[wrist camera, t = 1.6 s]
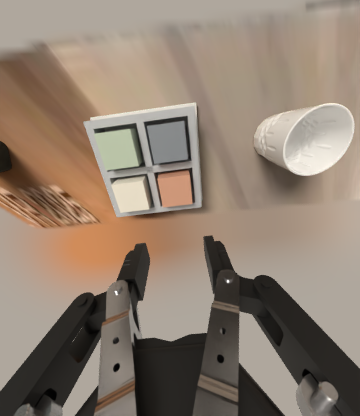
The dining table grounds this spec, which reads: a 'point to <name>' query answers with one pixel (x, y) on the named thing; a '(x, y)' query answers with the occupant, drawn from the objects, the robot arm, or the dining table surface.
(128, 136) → the key sage
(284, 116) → the white cup
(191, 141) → the keypad
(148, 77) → the dining table surface
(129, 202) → the key cream
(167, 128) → the key slate
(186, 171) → the key terracotta
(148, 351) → the robot arm
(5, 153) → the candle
